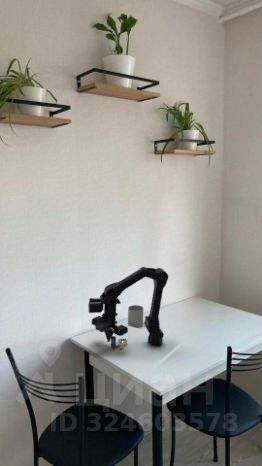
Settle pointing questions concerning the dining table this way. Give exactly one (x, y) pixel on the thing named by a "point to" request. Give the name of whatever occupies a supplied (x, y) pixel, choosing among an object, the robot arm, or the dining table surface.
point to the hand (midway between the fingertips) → (108, 341)
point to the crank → (114, 344)
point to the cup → (135, 316)
